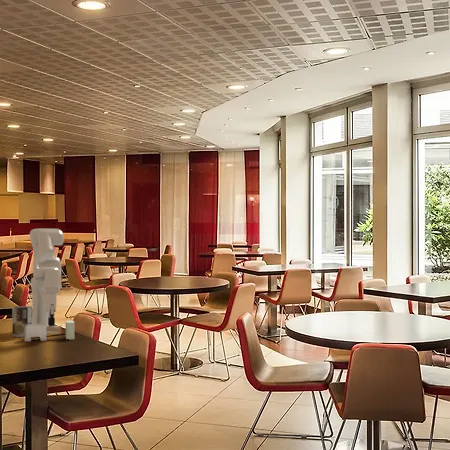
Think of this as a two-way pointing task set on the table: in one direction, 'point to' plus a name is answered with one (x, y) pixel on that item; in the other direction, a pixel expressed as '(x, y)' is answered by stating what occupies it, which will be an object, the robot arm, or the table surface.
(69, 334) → the socket block
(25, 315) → the coffee box
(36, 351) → the table surface
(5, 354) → the table surface
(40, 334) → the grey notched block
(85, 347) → the table surface
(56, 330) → the inner bar
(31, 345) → the table surface
